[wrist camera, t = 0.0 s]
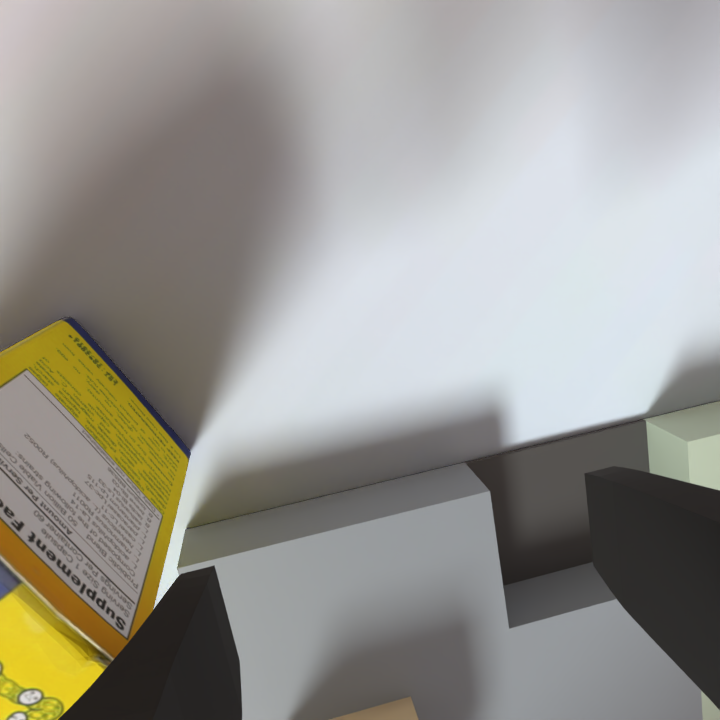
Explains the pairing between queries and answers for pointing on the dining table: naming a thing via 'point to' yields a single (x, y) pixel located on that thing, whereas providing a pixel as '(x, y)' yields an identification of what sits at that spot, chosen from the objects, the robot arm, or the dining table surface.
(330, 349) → the dining table surface
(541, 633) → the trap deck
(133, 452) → the supplement box
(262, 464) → the dining table surface
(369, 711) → the maple block
